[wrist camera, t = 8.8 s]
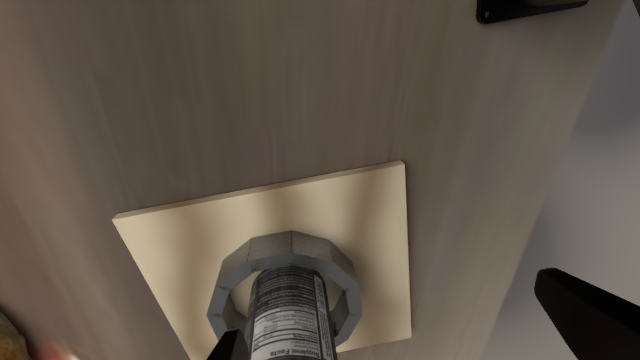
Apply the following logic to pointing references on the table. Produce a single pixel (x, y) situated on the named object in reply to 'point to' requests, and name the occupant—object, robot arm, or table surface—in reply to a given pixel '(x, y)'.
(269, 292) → the pill bottle
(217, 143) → the table surface
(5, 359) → the pastry
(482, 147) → the table surface
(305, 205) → the ring holder
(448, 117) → the table surface
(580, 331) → the robot arm
